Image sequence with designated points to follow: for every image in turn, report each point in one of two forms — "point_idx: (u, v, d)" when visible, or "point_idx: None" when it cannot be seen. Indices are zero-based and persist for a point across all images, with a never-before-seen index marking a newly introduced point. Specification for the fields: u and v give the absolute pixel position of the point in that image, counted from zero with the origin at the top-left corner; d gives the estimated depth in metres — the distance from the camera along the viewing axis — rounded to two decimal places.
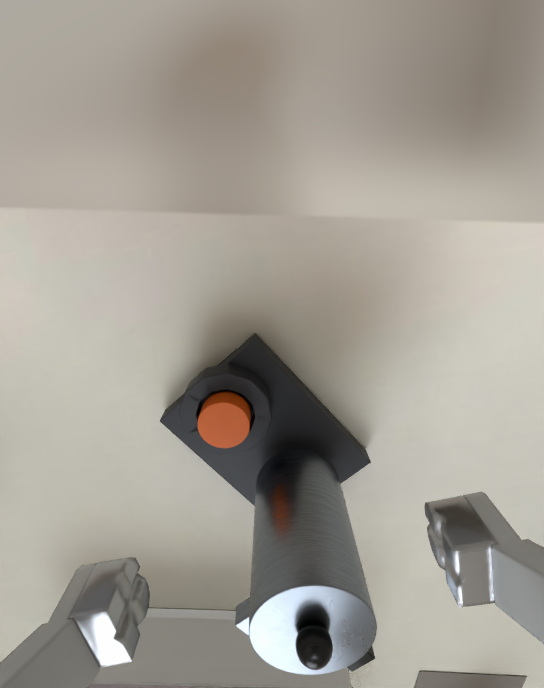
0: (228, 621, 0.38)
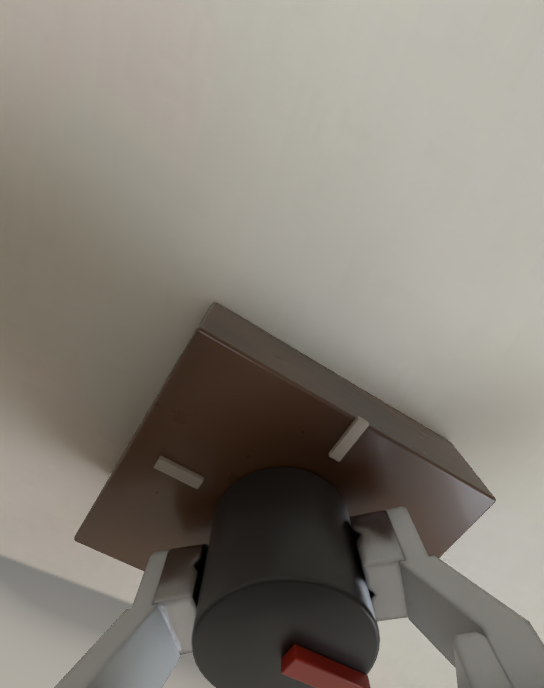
0: None
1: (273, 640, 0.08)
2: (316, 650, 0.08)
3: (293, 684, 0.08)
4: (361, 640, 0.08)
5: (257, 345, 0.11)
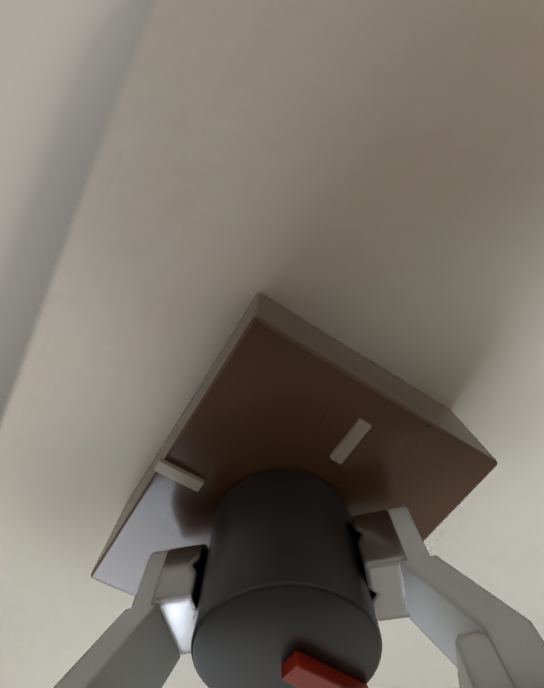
0: None
1: (275, 645, 0.08)
2: (317, 657, 0.08)
3: None
4: (363, 649, 0.08)
5: None
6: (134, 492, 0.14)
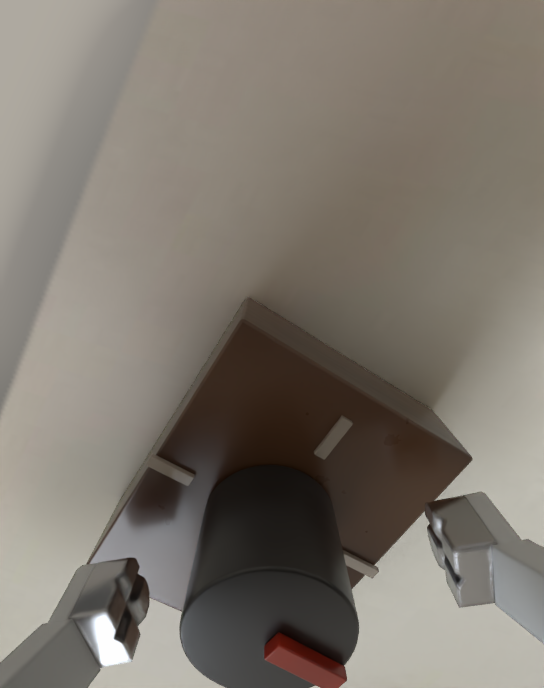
0: None
1: (259, 627, 0.08)
2: (298, 639, 0.08)
3: (273, 671, 0.09)
4: (341, 631, 0.08)
5: None
6: (127, 488, 0.15)
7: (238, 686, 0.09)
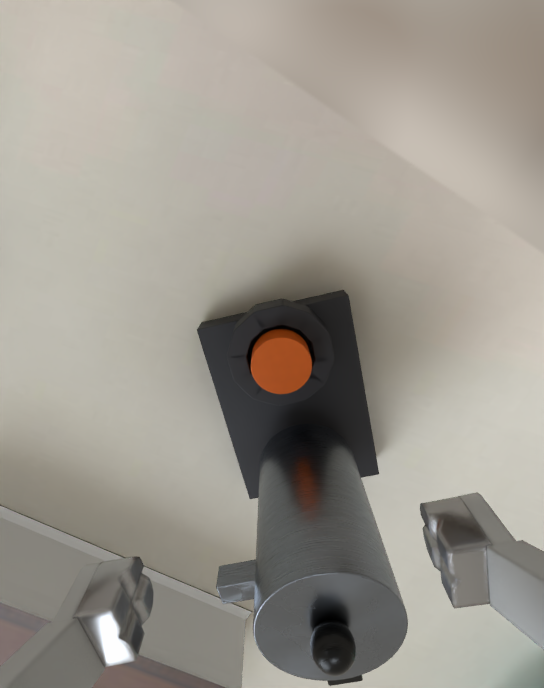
0: None
1: None
2: None
3: None
4: None
5: None
6: None
7: None
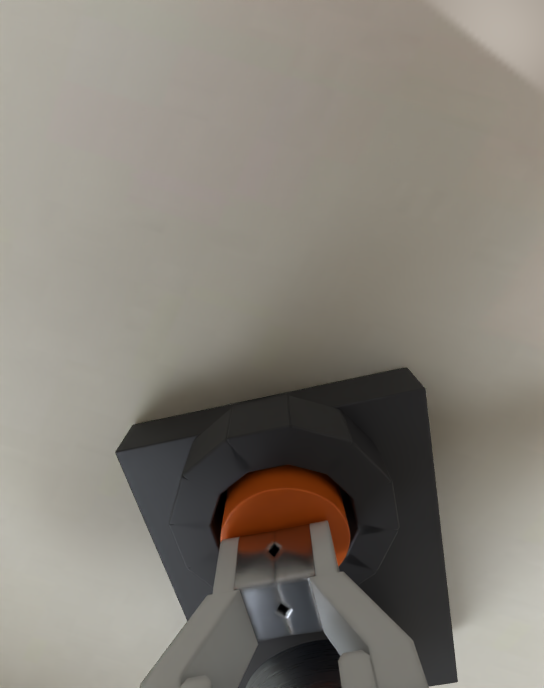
0: None
1: None
2: None
3: None
4: None
5: None
6: None
7: None
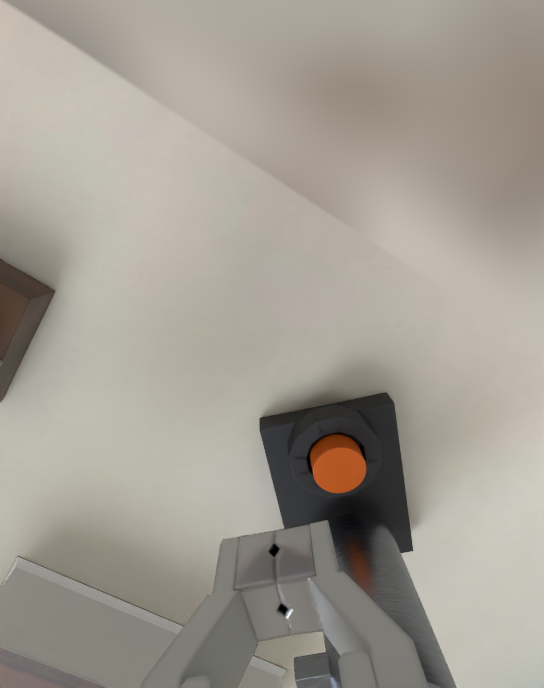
0: None
1: None
2: None
3: None
4: None
5: (31, 316, 0.25)
6: None
7: None
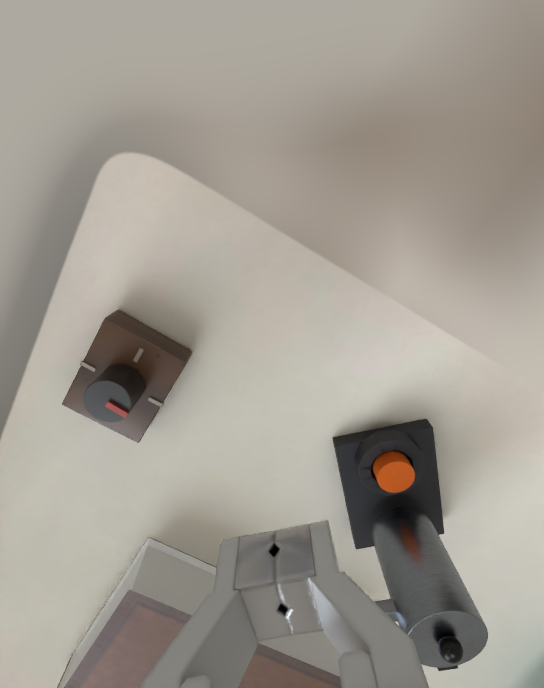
0: None
1: (104, 398, 0.32)
2: (114, 402, 0.32)
3: (110, 413, 0.32)
4: (126, 400, 0.32)
5: None
6: None
7: (101, 419, 0.33)
